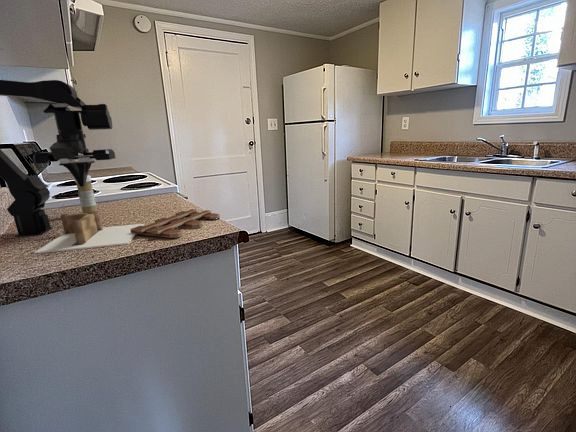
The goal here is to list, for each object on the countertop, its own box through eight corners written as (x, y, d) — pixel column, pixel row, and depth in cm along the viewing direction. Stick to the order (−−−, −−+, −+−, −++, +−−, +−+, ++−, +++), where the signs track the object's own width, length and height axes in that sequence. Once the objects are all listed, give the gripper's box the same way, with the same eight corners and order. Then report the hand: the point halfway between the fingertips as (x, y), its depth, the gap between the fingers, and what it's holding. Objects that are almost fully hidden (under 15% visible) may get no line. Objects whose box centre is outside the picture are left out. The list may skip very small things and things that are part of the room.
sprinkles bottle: (85, 214, 108) (76, 175, 104) (99, 212, 109) (91, 174, 106) (81, 217, 103) (72, 177, 100) (96, 215, 105) (88, 176, 101)
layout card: (34, 253, 71) (34, 251, 71) (69, 231, 87) (68, 230, 87) (127, 244, 75) (127, 242, 75) (144, 224, 91) (144, 223, 91)
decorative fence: (127, 234, 81) (173, 239, 76) (126, 228, 81) (172, 233, 75) (184, 213, 102) (223, 216, 97) (184, 208, 101) (223, 211, 96)
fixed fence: (63, 234, 84) (58, 216, 82) (67, 231, 86) (62, 213, 85) (99, 231, 85) (95, 212, 84) (102, 228, 88) (99, 210, 86)
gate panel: (90, 231, 84) (86, 211, 83) (98, 230, 85) (94, 211, 83) (75, 244, 74) (70, 222, 73) (84, 243, 75) (79, 221, 73)
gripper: (13, 131, 76) (29, 194, 80) (96, 128, 79) (108, 188, 83) (38, 132, 86) (52, 187, 90) (110, 129, 90) (120, 182, 94)
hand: (82, 186), depth 89 cm, fingers closed
